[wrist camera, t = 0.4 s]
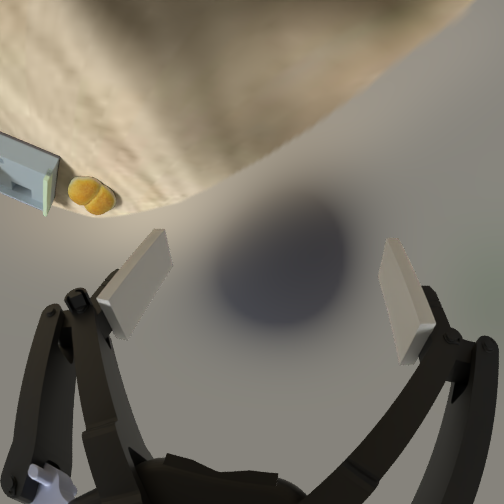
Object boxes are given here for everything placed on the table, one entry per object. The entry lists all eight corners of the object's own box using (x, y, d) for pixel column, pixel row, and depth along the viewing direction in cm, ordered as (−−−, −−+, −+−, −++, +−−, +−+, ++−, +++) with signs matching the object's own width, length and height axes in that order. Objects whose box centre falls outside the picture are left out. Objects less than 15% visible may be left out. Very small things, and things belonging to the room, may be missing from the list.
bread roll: (83, 167, 37) (74, 189, 35) (124, 194, 44) (116, 215, 42) (64, 182, 41) (56, 202, 40) (101, 205, 48) (94, 223, 47)
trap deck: (-18, 165, 34) (-28, 184, 33) (-29, 119, 22) (-44, 142, 21) (54, 196, 46) (46, 216, 44) (59, 156, 34) (47, 181, 32)
